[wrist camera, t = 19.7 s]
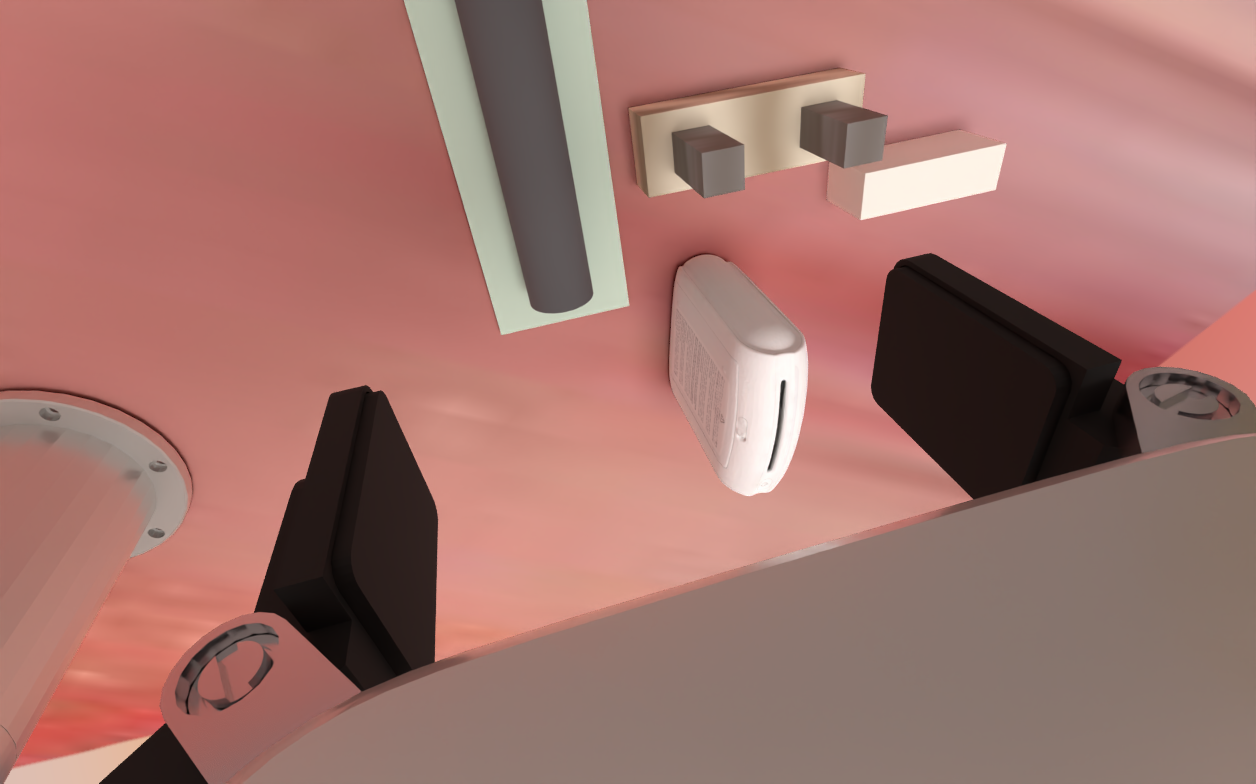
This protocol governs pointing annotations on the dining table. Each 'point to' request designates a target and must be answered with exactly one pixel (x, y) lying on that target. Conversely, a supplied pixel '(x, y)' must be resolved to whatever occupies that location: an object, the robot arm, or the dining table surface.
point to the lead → (529, 147)
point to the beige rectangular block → (918, 174)
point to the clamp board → (754, 133)
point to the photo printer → (737, 373)
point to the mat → (477, 170)
